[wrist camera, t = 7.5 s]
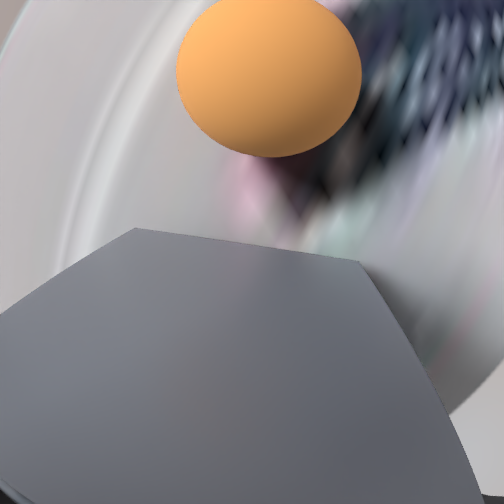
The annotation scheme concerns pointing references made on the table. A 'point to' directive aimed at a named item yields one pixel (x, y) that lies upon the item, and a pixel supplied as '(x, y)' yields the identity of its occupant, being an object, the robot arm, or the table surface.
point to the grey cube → (218, 384)
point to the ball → (269, 75)
